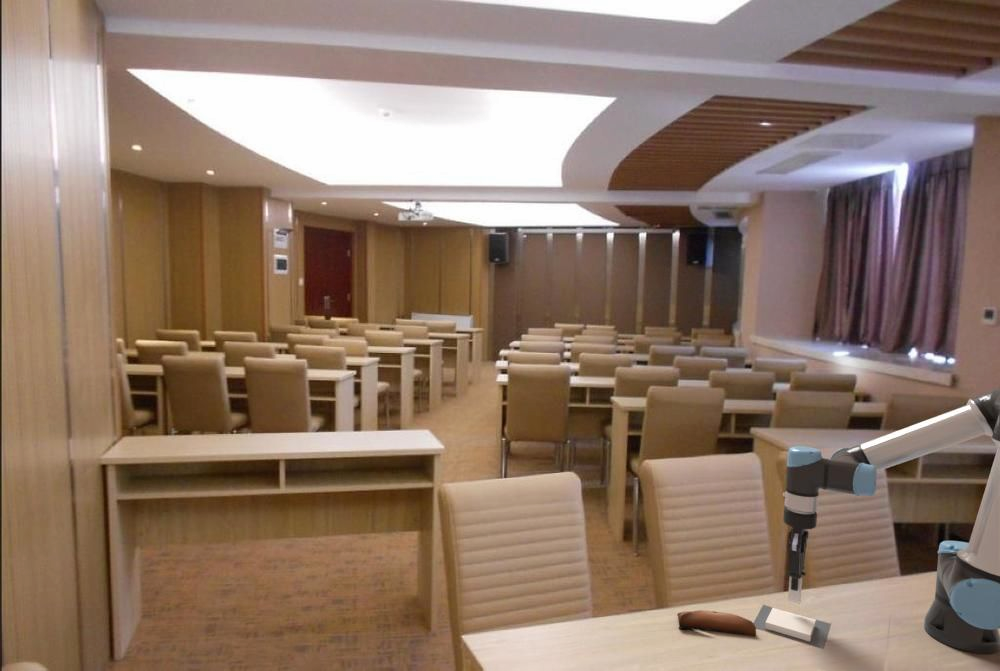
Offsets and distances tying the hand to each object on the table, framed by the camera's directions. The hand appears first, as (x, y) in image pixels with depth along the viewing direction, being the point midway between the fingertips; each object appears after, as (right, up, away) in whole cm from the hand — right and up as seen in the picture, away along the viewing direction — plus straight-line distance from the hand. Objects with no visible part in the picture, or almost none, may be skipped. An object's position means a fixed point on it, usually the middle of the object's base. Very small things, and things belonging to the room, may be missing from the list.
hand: (794, 600), depth 161 cm
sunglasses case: (-21, -6, -3) cm, 22 cm away
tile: (0, -4, 0) cm, 4 cm away
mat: (-2, -6, -2) cm, 6 cm away
